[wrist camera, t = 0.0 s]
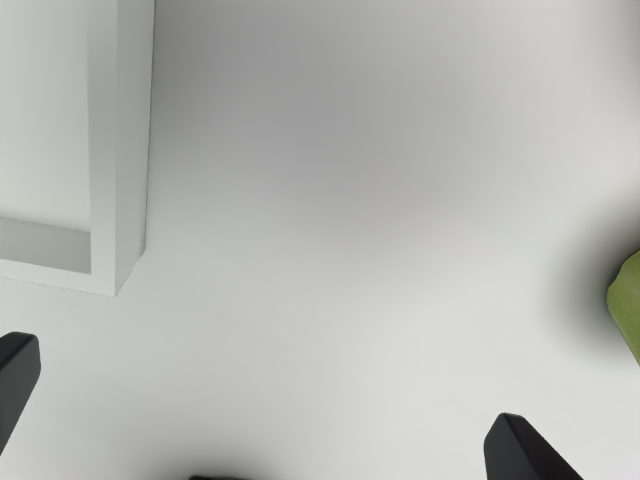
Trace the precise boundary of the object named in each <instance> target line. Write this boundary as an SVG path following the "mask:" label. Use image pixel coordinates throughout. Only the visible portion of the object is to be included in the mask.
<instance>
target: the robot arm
mask: <svg viewBox="0 0 640 480" xmlns="http://www.w3.org/2000/svg"><path fill="white" fill-rule="evenodd" d="M40 371H41V362H40V351H39V341H38V338H37V336H36V335H33V334H28V333H22V332H11V333H8V334H6V335H4V336H2V337H0V455H1V454H2V452H3V450H4V448H5V446H6V444H7V442H8V440H9V438H10V436H11V434H12V432H13V430H14V428H15V426H16V424H17V421H18V419H19V417H20V415H21V413H22V411H23V409H24V407H25V405H26V403H27V401H28V399H29V397H30V395H31V393H32V391H33V389H34V387H35V385H36V383H37V381H38V378H39V375H40ZM484 457H485V465H486V473H487V480H584V479H583V478H582V477H581V476H580V475H579V474H578V473H577V472H576V471H575V470H574V469H573V468H572V467H571V466H570V465H569V464H568V463H567V462H566V461H565V460H564V459H563V458H562V457H561V456H560V454H559V453H558V452H557V451H556V450H555V449H554V448H553V447H552V446H551V445H550V444H549V443H548V442H547V441H546V440H545V439H544V438H543V437H542V436H541V435H540V434H539V433H538V432H537V431H536V429H535V428H534V427H533V426H532V425H531V424H530V423H529V422H528V421H527V420H526V419H525V418H524V417H522V416H520V415H516V414H510V413H501V414H499V415H498V417H497V418H496V420H495V422H494V424H493V425H492V427H491V429H490V430H489V432H488V434H487V436H486V438H485V441H484ZM189 480H209V479H202V478H190V479H189Z"/></svg>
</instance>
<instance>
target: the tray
mask: <svg viewBox="0 0 640 480" xmlns="http://www.w3.org/2000/svg"><path fill="white" fill-rule="evenodd" d="M154 9H155V0H0V277H1V278H7V279H13V280H19V281H24V282H30V283H36V284H41V285H47V286H53V287H58V288H64V289H70V290H75V291H81V292H87V293H93V294H98V295H104V296H110V297H115V296H116V295H117V293H118V292H119V290H120V289H121V287H122V285H123V284H124V282H125V281H126V279H127V278H128V276H129V274H130V273H131V271H132V270H133V268H134V266H135V265H136V263H137V262H138V260H139V259H140V257H141V255H142V254H143V252H144V247H145V223H146V199H147V175H148V152H149V128H150V104H151V81H152V57H153V33H154Z"/></svg>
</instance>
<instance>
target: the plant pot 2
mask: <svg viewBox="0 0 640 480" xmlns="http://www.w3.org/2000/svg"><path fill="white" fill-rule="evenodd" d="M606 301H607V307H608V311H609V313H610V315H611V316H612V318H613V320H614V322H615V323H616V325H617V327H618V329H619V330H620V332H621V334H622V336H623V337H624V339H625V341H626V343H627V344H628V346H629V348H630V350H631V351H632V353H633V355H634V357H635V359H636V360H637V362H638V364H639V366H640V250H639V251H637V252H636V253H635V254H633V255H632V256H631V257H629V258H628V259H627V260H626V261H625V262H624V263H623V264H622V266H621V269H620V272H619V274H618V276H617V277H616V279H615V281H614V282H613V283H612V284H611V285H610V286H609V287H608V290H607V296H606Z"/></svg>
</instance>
